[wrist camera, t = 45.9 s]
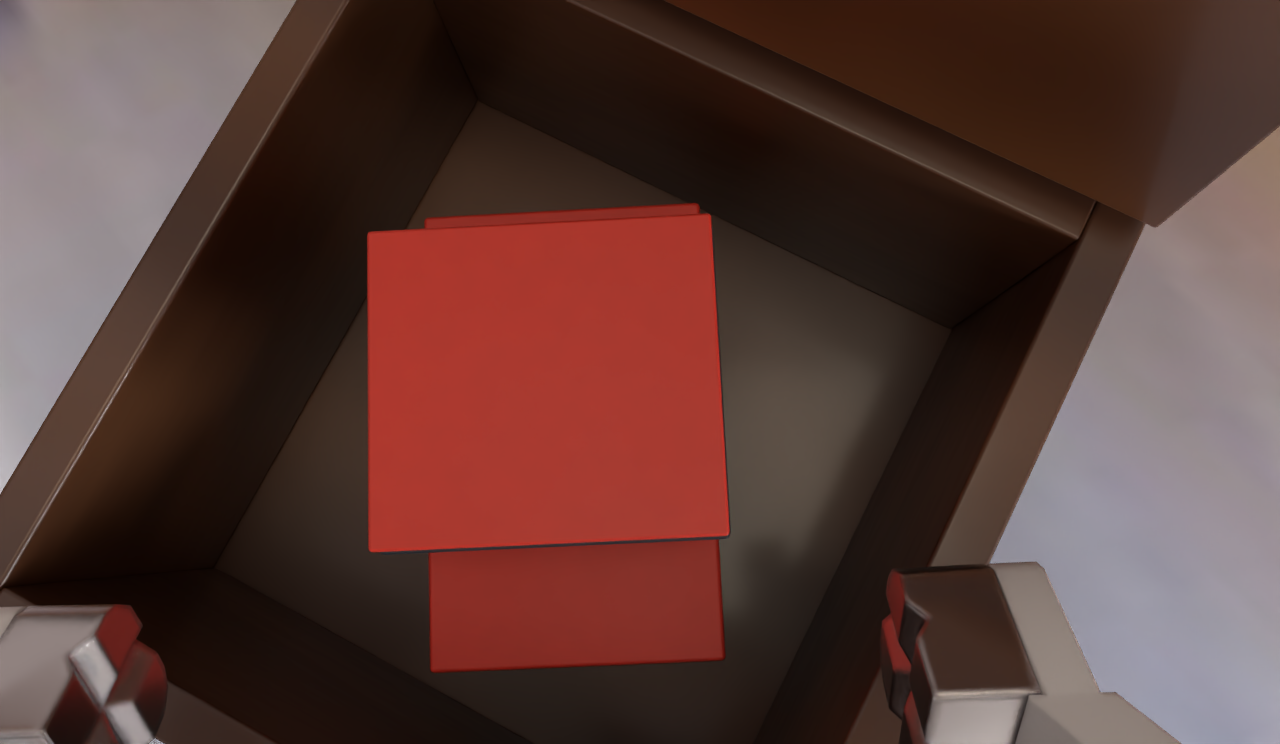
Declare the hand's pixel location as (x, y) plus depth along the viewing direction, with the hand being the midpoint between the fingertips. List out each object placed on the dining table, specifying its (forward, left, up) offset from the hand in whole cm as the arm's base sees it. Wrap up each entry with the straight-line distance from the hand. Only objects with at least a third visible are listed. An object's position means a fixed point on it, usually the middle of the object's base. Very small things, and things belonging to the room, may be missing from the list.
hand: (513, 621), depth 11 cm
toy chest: (-2, -1, -12) cm, 12 cm away
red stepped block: (-2, -1, -11) cm, 11 cm away
